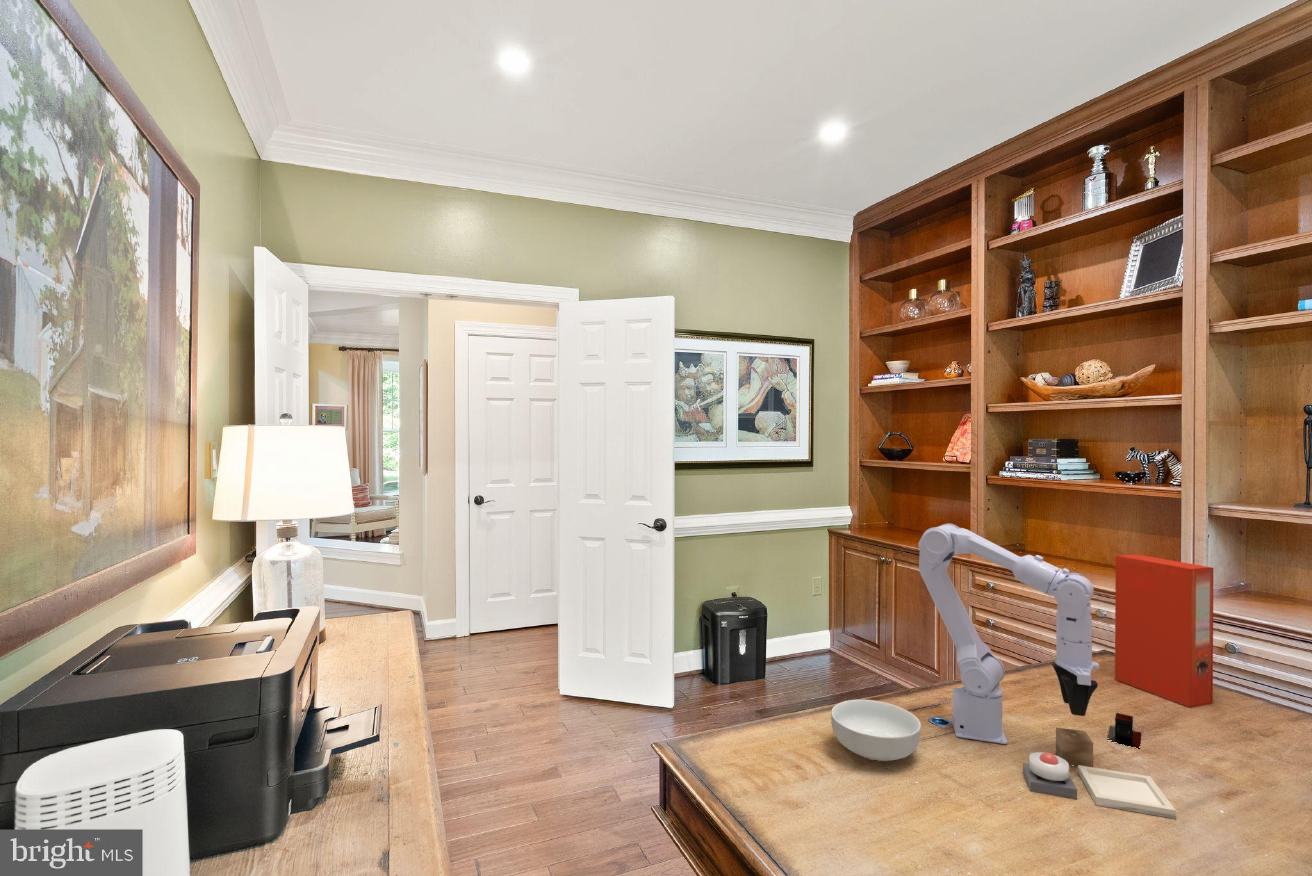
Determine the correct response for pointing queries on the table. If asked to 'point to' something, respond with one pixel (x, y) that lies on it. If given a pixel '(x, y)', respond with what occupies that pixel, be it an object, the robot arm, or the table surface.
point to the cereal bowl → (876, 729)
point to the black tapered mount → (1124, 731)
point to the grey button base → (1049, 784)
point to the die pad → (1126, 791)
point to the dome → (1049, 766)
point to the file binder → (1164, 628)
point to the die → (1074, 747)
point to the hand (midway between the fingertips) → (1073, 708)
